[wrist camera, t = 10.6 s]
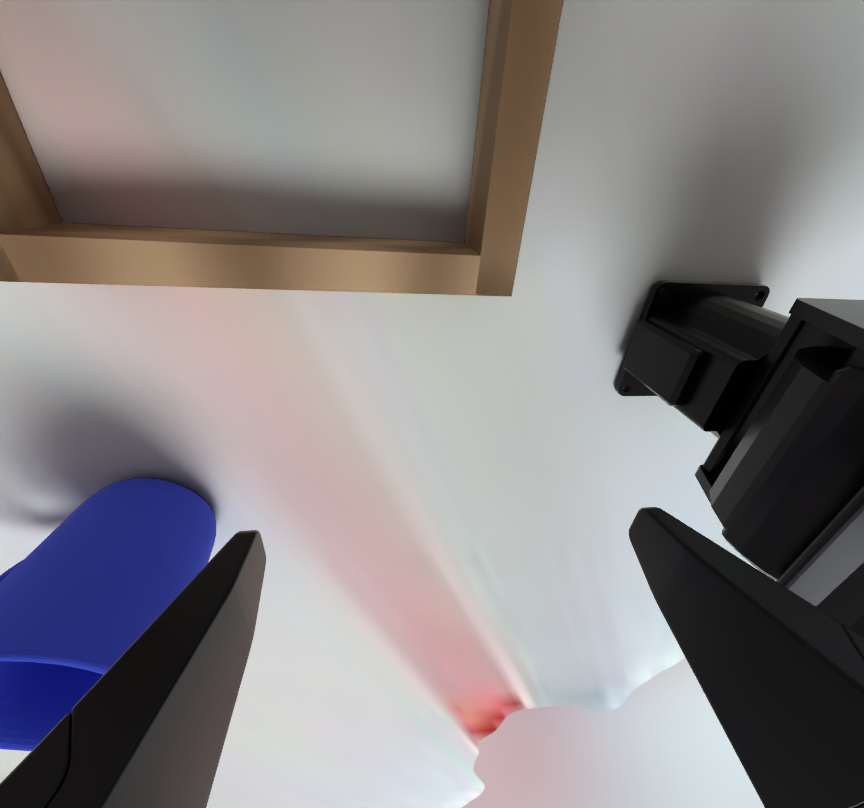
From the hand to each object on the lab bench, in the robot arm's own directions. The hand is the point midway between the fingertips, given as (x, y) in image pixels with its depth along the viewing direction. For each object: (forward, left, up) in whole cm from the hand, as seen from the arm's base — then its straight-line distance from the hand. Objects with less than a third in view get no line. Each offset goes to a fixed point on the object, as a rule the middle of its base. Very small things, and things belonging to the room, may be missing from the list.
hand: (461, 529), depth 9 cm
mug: (+17, +12, -12) cm, 24 cm away
